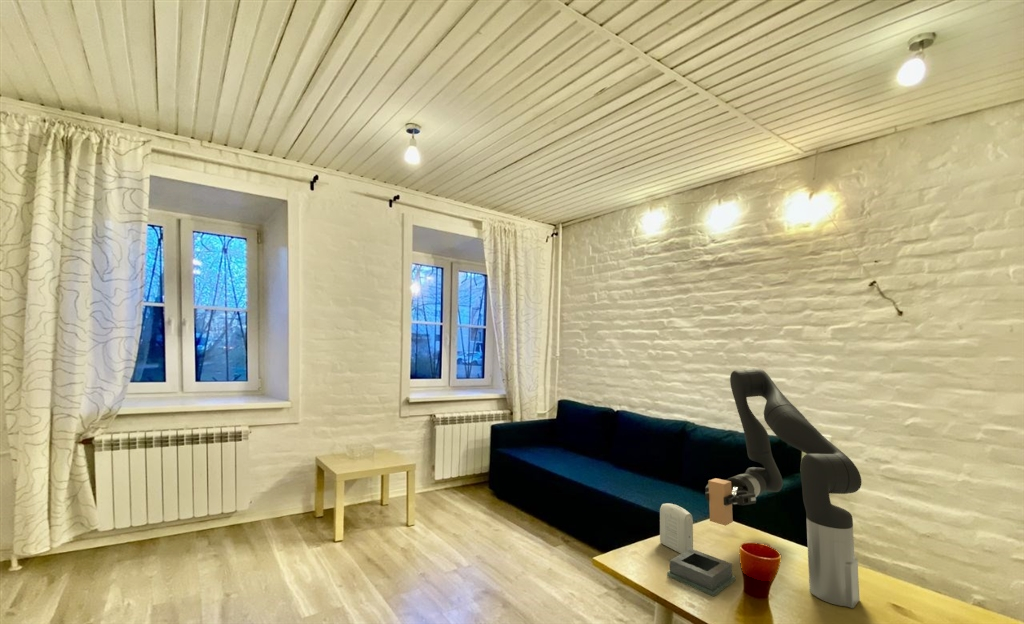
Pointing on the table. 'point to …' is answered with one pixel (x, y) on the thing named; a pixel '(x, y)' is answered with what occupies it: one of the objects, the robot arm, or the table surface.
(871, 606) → the table surface
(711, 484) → the tall orange pillar
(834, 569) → the robot arm
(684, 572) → the square frame holder
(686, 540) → the photo printer
